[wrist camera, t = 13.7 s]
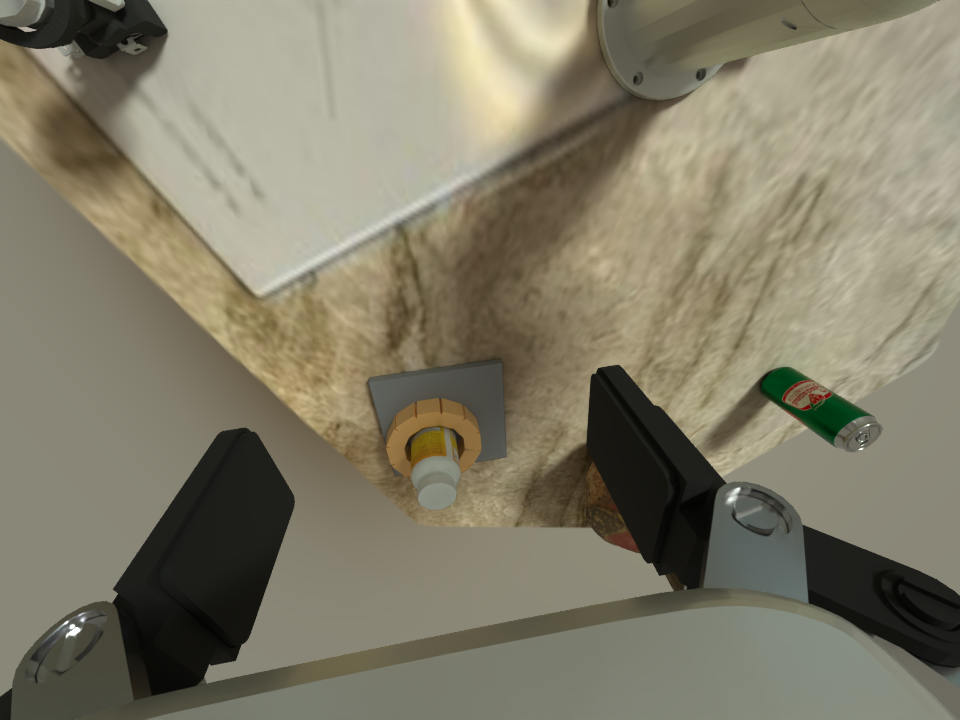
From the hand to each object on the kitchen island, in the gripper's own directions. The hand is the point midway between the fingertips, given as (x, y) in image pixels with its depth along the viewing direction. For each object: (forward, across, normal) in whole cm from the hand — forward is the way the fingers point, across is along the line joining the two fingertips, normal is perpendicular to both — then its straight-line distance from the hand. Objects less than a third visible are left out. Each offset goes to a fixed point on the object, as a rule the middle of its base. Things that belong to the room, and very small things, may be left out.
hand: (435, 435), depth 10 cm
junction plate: (+28, +2, +23) cm, 36 cm away
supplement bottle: (+27, +4, +24) cm, 36 cm away
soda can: (+29, -44, +27) cm, 59 cm away
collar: (+26, +4, +24) cm, 36 cm away
